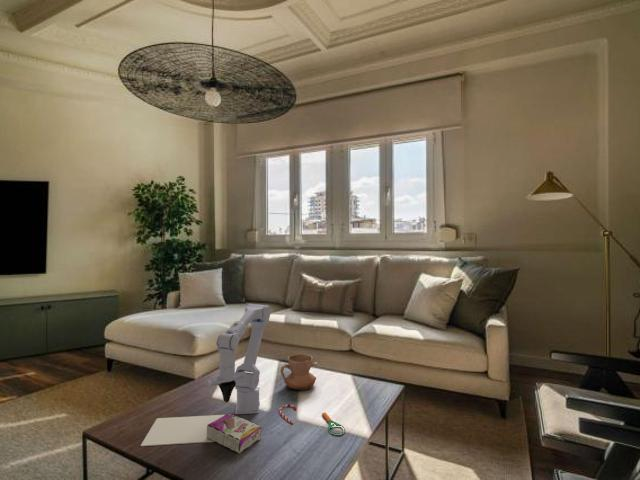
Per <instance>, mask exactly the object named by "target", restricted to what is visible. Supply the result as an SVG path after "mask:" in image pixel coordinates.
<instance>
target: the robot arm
mask: <svg viewBox="0 0 640 480" xmlns="http://www.w3.org/2000/svg"><path fill="white" fill-rule="evenodd" d="M270 317H271V308H270V305H269V304H254V303H248V304H247V305H246V306H245V309H244V314H243V315H242V317H241V318H240V320H238V321H234V323H233V324H232V325H230V326H229V328H228V329H227V330H226V331H225V332H222V333H220V334H219V335H218V337H217V340H216V347H217V352H218V354H219V359H218V360H219V361H218V362H219V364H218V365H219V366H218V367H219V368H218V369H219V370H218V371H219V373H218V375H217V376H216V377H215V378H212V379H210V380H207V387H208V388H213V387H214V386H218V388H219V389H220V391H221V395H222V399H223V401H224V402H225V403H229V402H230V400H231V396H232V393H233V391H234V389H235V390H236V405H235V406H236V407H235V411H234V415H246V414H247V415H248V414H250V415H252V414H259V411H260V406H261V405H260V404H261V402H260V387H258V386H259V383H260V374H261V373H260V370H259V368H258V367H257V366H256V363H257V359H258V355H259V351H260V347H261V343H262V338H263V335H264V330H265V327H266V326H268V324H269V321H270ZM249 325H252V330H251V333H250V338H249V341H248V345H247V349H246V352H245V356H244V359H243V363H241V364H240V365H238V366H237V367H236V349H237V348H238V346H239V343H240V340H241V338H242V336H243V335H244V334H245V333H246V332H247V331H246V330H247V326H249Z"/></svg>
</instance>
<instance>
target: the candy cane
mask: <svg viewBox="0 0 640 480" xmlns="http://www.w3.org/2000/svg"><path fill="white" fill-rule="evenodd" d="M292 407H293V408H292ZM283 408H284V409H285V408H292V409H293V410H294V411H297V407H296V406H295V405H294V404H283V405H281V406H280V407H279V409H278V414H279V416H280V415H281V416H280V417H281V418H282V419H283V420H284V421H285V420H286V421H285V422H287V423H288V424H289V423H290V425H291V424H292V425H294V422H293V421H292V420H290V419H289V418H288V417H287V416H286V414H284V413H283V411H282V410H284V409H283Z"/></svg>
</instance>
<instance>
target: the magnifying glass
mask: <svg viewBox="0 0 640 480" xmlns="http://www.w3.org/2000/svg"><path fill="white" fill-rule="evenodd" d="M321 416H322V417H323V419H324V418H325V419H326V420H327V421H328V422H329V424H328V432H329V431H330V432H332V433H334V434H340V432H334V431H332V429H331V430H330V428H331V427H332V426H334V425H331V423H334V424H335V425H336V426H342V427H343V428H344V431H346V429H345V426H343V425H341V424H340V423H338V422H336V421H334V420H332V418H330V416H329V415H328V414H327V413H326V412H322V413H321ZM325 419H324V420H325ZM326 420H325V421H326ZM327 421H326V422H327ZM341 432H342V431H341ZM342 433H343V432H342Z"/></svg>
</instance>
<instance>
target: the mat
mask: <svg viewBox="0 0 640 480" xmlns="http://www.w3.org/2000/svg"><path fill="white" fill-rule="evenodd" d="M225 415H226V414H215V415H212V414H211V415H197V416H196V415H195V416H194V415H193V416H192V415H191V416H177V417H176V416H175V417H172V416H171V417H158V418H156V419H155V421H154V422H153V424H152V426H151V427H150V430H149V431H148V433H147V434H146V436H145V438H144V439H143V441H142V442H141V444H140V447H153V446H155V447H156V446H169V445H170V446H171V445H187V444H201V443H214V442H215V441H213V440H211V439H209V438H207V425H208V424H210V423H212V422H214V421H216V420H217V419H219V418H221V417H223V416H225ZM215 443H216V442H215Z"/></svg>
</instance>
